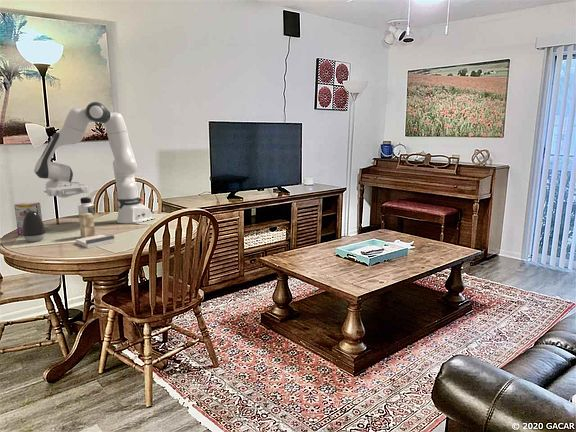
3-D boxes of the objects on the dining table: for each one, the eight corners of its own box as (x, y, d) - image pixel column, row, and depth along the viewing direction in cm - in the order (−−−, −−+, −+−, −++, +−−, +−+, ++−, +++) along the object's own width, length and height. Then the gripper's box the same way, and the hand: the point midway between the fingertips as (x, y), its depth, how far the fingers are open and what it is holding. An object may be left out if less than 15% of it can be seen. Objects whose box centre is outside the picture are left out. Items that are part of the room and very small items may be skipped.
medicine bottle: (88, 217, 271) (86, 198, 269) (78, 216, 273) (76, 198, 270) (95, 215, 278) (94, 196, 276) (86, 214, 280) (84, 196, 277)
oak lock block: (90, 235, 227) (88, 212, 224) (95, 236, 224) (92, 214, 221) (81, 237, 223) (78, 214, 221) (85, 238, 220) (83, 215, 218)
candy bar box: (17, 235, 228) (13, 204, 225) (21, 232, 233) (17, 202, 230) (40, 234, 230) (36, 203, 227) (44, 231, 235) (40, 202, 231)
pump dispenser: (37, 237, 223) (33, 208, 220) (51, 239, 219) (47, 209, 216) (18, 241, 214) (14, 211, 211) (31, 244, 210) (27, 213, 207)
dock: (102, 238, 220) (101, 231, 220) (114, 242, 212) (113, 235, 211) (76, 243, 211) (75, 236, 210) (87, 248, 202) (87, 241, 202)
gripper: (42, 185, 227) (52, 187, 218) (81, 182, 242) (92, 184, 233) (43, 197, 229) (53, 200, 220) (82, 193, 244) (93, 195, 235)
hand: (73, 191), depth 227 cm, fingers open, 8 cm apart
